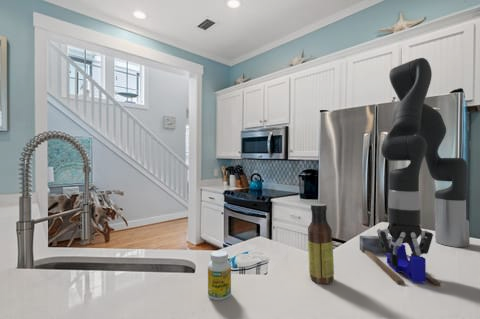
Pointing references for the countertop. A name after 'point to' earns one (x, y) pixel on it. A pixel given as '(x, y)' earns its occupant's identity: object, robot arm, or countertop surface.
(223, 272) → the supplement bottle
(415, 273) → the cable clip
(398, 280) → the guide channel
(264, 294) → the countertop surface
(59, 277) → the countertop surface
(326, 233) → the sauce bottle
